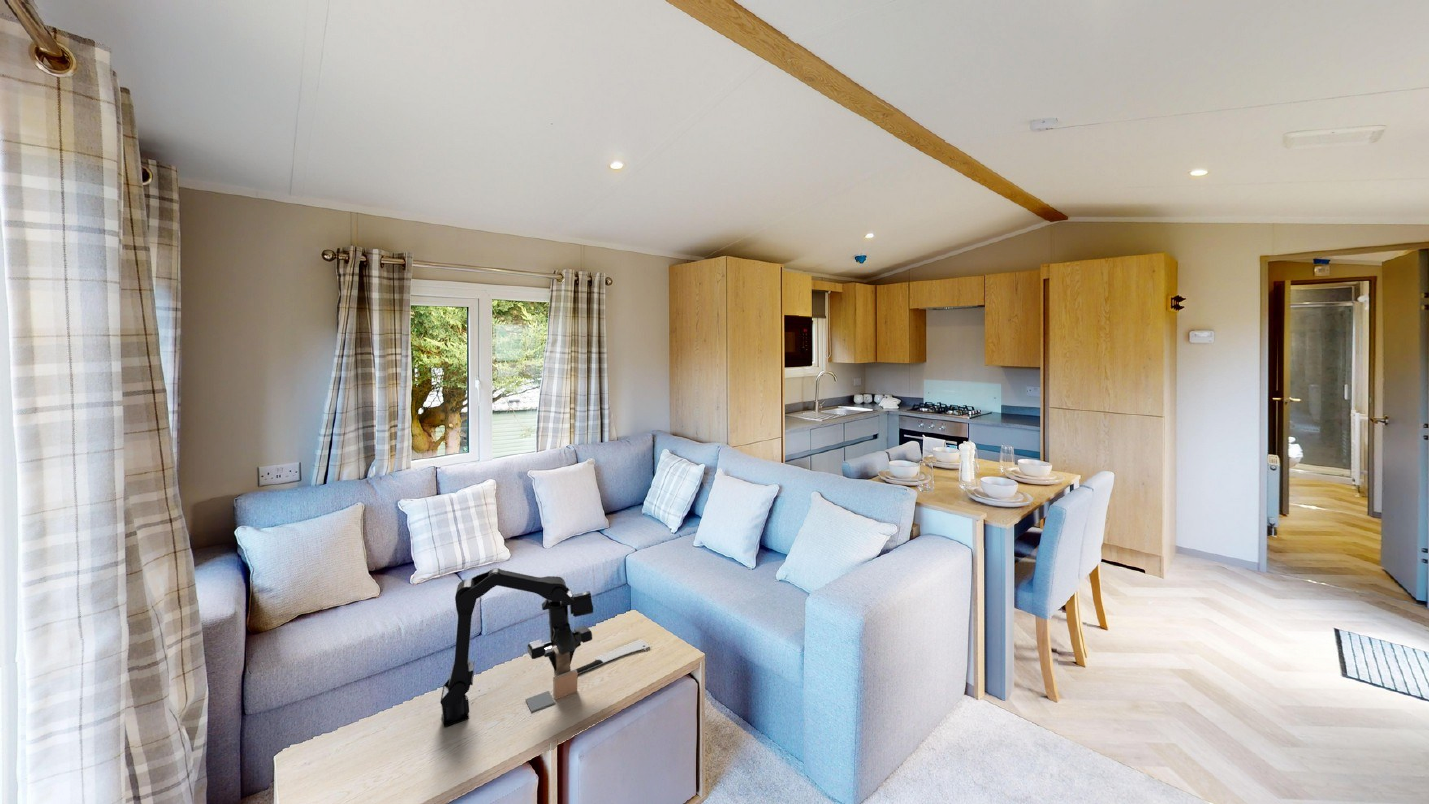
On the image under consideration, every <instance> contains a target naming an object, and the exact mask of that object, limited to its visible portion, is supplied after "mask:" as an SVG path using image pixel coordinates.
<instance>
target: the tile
mask: <svg viewBox="0 0 1429 804" xmlns="http://www.w3.org/2000/svg"><path fill="white" fill-rule="evenodd" d="M576 669H577V668H575V669H572V670H571V671H569V672H566V673H564V674H561V675H558V676H555V677H554V676H553V678H552V681H553V683H552V691H553V693H552V697H553V700H557V699H559V698H562V697H565V696H568V695H570V694H573V693H576V692H578V676H579V675H578V672H577V670H576Z"/></svg>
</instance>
